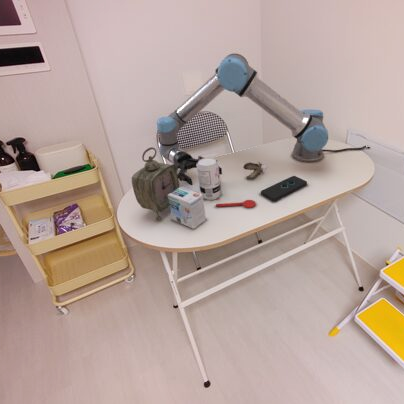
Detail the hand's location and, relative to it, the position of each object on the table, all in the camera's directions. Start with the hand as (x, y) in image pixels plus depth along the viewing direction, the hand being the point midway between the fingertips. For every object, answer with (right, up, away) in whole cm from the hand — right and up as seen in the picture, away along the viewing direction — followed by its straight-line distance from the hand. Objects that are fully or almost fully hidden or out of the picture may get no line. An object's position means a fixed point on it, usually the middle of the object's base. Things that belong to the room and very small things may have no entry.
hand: (206, 176), depth 119 cm
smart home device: (+31, -5, +7) cm, 32 cm away
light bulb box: (-4, -17, -10) cm, 20 cm away
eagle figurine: (+19, +2, +17) cm, 26 cm away
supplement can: (+1, -7, +3) cm, 8 cm away
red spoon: (+12, -11, -3) cm, 17 cm away
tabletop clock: (-16, -13, -5) cm, 21 cm away
